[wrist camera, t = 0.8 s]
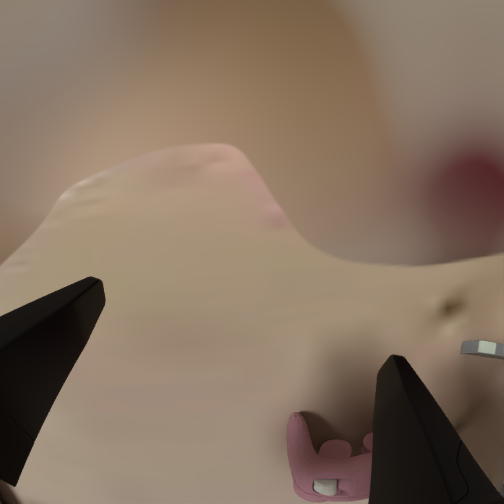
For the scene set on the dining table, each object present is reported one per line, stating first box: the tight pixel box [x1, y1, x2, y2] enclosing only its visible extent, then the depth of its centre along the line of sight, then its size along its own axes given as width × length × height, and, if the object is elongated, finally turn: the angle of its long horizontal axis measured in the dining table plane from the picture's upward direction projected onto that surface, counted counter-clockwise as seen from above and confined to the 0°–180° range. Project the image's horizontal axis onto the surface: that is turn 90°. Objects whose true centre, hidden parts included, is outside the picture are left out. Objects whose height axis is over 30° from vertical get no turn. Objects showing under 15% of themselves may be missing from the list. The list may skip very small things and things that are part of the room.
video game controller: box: [287, 412, 373, 502], centre depth 15 cm, size 10×5×7 cm, turn 93°
